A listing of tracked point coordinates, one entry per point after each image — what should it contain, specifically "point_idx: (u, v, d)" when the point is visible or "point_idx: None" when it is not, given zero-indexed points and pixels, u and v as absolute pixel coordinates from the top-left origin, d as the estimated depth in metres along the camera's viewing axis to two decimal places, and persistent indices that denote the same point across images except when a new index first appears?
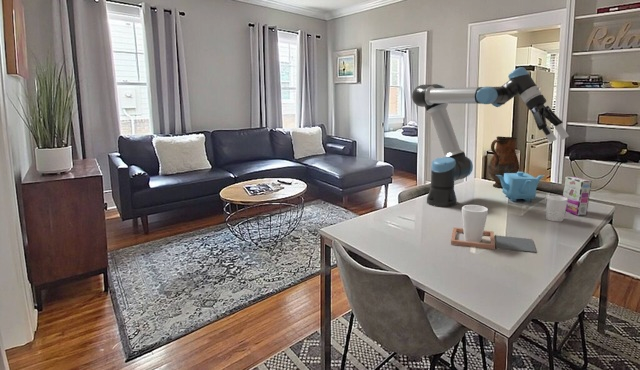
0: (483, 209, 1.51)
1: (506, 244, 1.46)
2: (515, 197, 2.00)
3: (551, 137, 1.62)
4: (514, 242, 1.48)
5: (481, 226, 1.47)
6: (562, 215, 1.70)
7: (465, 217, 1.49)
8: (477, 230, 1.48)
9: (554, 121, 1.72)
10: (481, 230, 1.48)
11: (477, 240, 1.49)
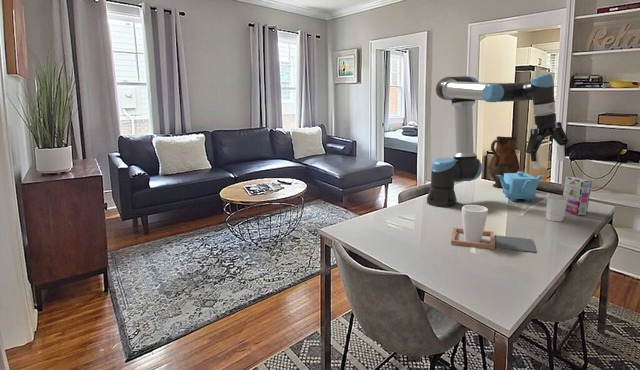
0: (483, 209, 1.51)
1: (506, 244, 1.46)
2: (515, 197, 2.00)
3: (535, 164, 1.57)
4: (514, 242, 1.48)
5: (481, 226, 1.47)
6: (562, 215, 1.70)
7: (465, 217, 1.49)
8: (477, 230, 1.48)
9: (558, 141, 1.59)
10: (481, 230, 1.48)
11: (477, 240, 1.49)
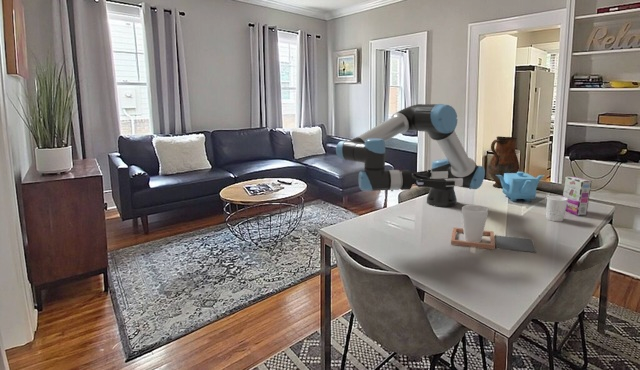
0: (483, 209, 1.51)
1: (506, 244, 1.46)
2: (515, 197, 2.00)
3: None
4: (514, 242, 1.48)
5: (481, 226, 1.47)
6: (562, 215, 1.70)
7: (465, 217, 1.49)
8: (477, 230, 1.48)
9: None
10: (481, 230, 1.48)
11: (477, 240, 1.49)
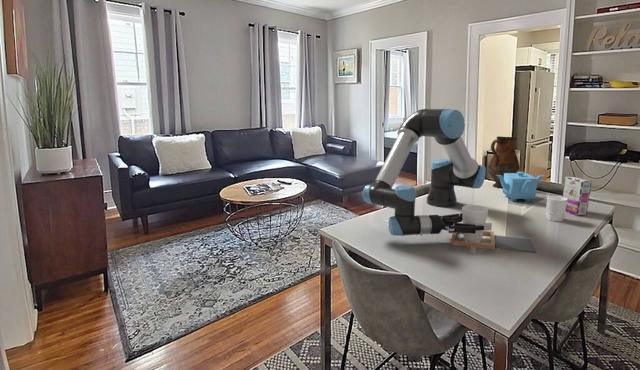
0: (483, 209, 1.51)
1: (506, 244, 1.46)
2: (515, 197, 2.00)
3: None
4: (514, 242, 1.48)
5: None
6: (562, 215, 1.70)
7: (465, 217, 1.49)
8: None
9: None
10: None
11: (477, 240, 1.49)
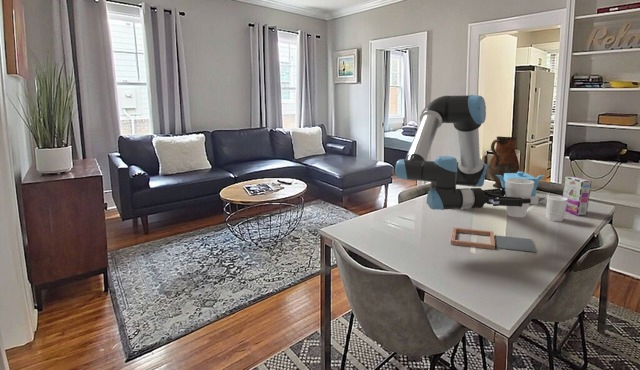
0: (528, 182, 1.42)
1: (506, 244, 1.46)
2: None
3: None
4: (514, 242, 1.48)
5: None
6: (562, 215, 1.70)
7: (509, 190, 1.40)
8: (522, 204, 1.39)
9: None
10: None
11: (522, 215, 1.41)
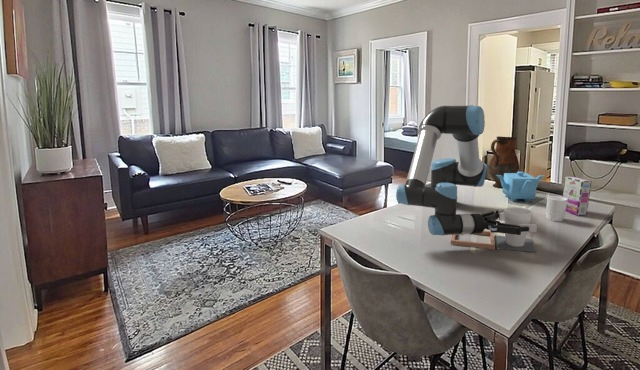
0: (526, 212, 1.45)
1: (506, 244, 1.46)
2: (515, 197, 2.00)
3: None
4: None
5: None
6: (562, 215, 1.70)
7: (508, 220, 1.43)
8: (521, 234, 1.42)
9: None
10: (525, 233, 1.43)
11: (520, 244, 1.44)
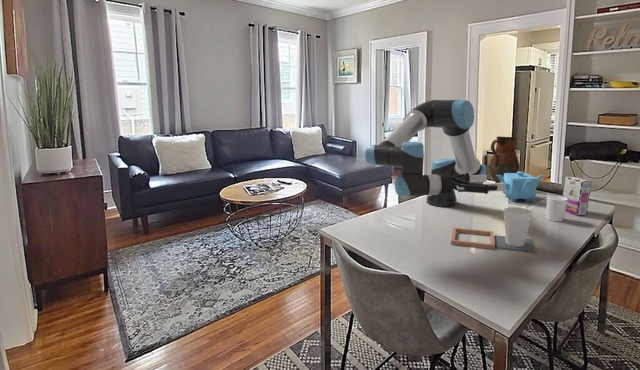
0: (526, 212, 1.45)
1: (506, 244, 1.46)
2: (515, 197, 2.00)
3: None
4: None
5: (525, 229, 1.42)
6: (562, 215, 1.70)
7: (508, 220, 1.43)
8: (521, 234, 1.42)
9: None
10: (525, 233, 1.43)
11: (520, 244, 1.44)
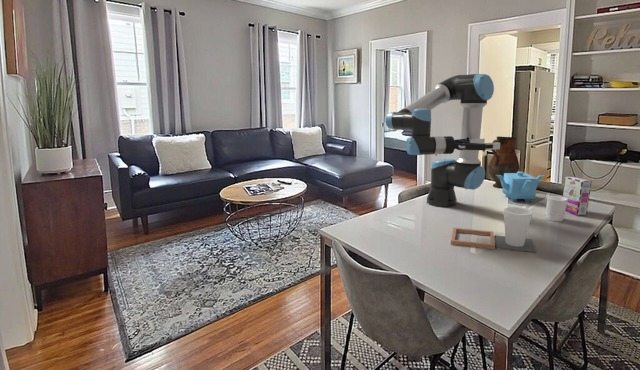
0: (526, 212, 1.45)
1: (506, 244, 1.46)
2: (515, 197, 2.00)
3: None
4: None
5: (525, 229, 1.42)
6: (562, 215, 1.70)
7: (508, 220, 1.43)
8: (521, 234, 1.42)
9: None
10: (525, 233, 1.43)
11: (520, 244, 1.44)
